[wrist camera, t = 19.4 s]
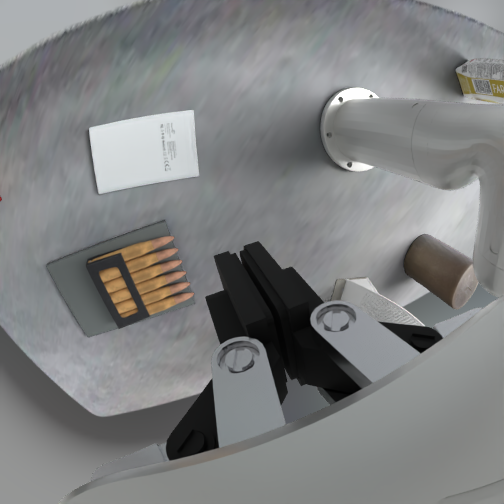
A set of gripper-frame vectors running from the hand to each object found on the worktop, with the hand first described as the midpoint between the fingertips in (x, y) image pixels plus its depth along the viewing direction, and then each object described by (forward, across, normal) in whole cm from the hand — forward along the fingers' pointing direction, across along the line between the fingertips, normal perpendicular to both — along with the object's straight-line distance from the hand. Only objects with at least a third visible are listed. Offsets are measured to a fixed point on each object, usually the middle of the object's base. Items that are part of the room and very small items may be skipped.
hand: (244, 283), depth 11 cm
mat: (+27, +13, +12) cm, 32 cm away
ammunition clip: (+25, +16, +12) cm, 32 cm away
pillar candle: (+27, -40, +27) cm, 55 cm away
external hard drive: (+28, +4, -4) cm, 28 cm away
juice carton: (+27, -58, -9) cm, 65 cm away
